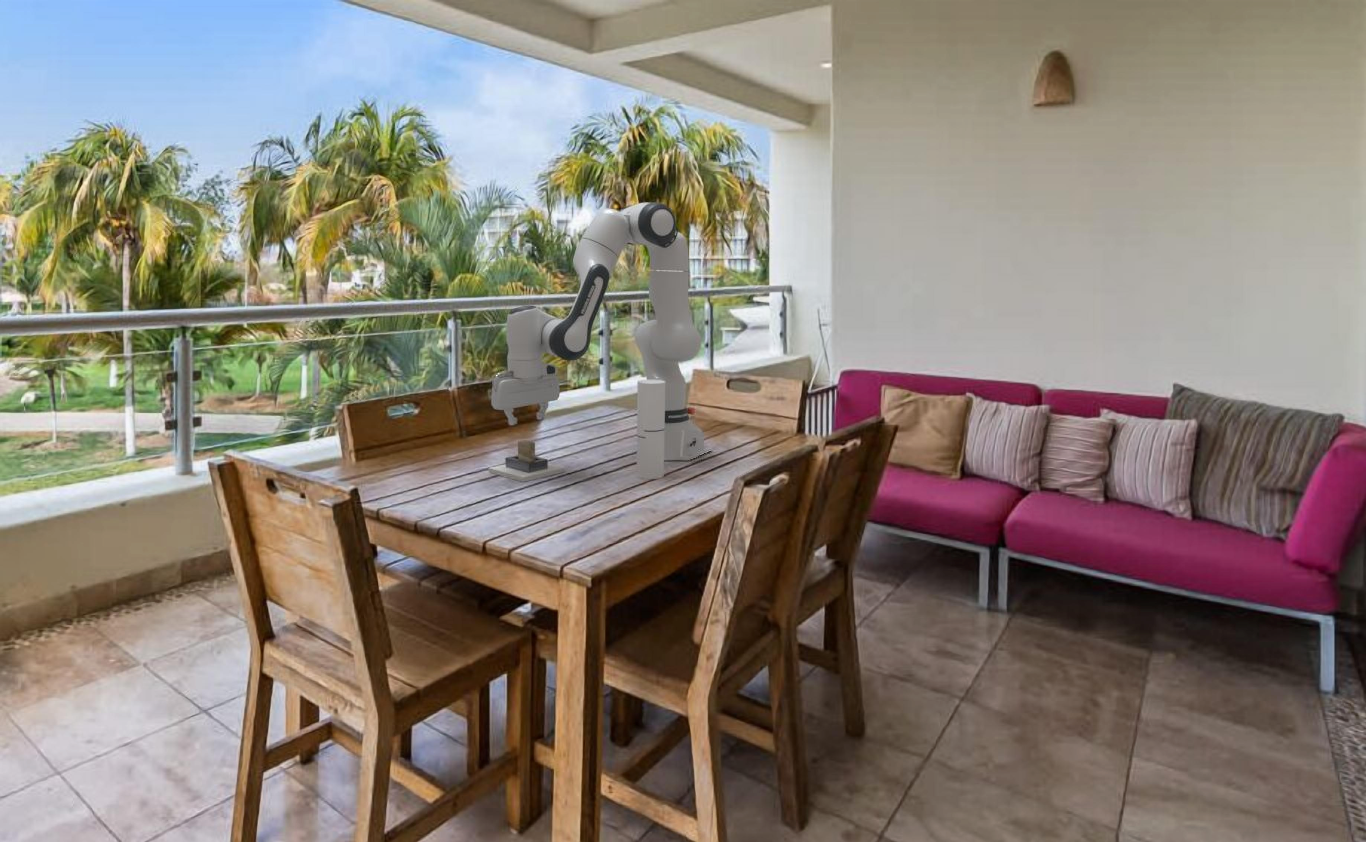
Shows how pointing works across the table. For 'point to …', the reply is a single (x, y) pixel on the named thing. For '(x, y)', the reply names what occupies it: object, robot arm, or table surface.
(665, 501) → the table surface
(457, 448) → the table surface
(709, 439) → the table surface
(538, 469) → the frame
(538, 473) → the plate
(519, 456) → the wooden block
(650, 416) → the cylindrical container
